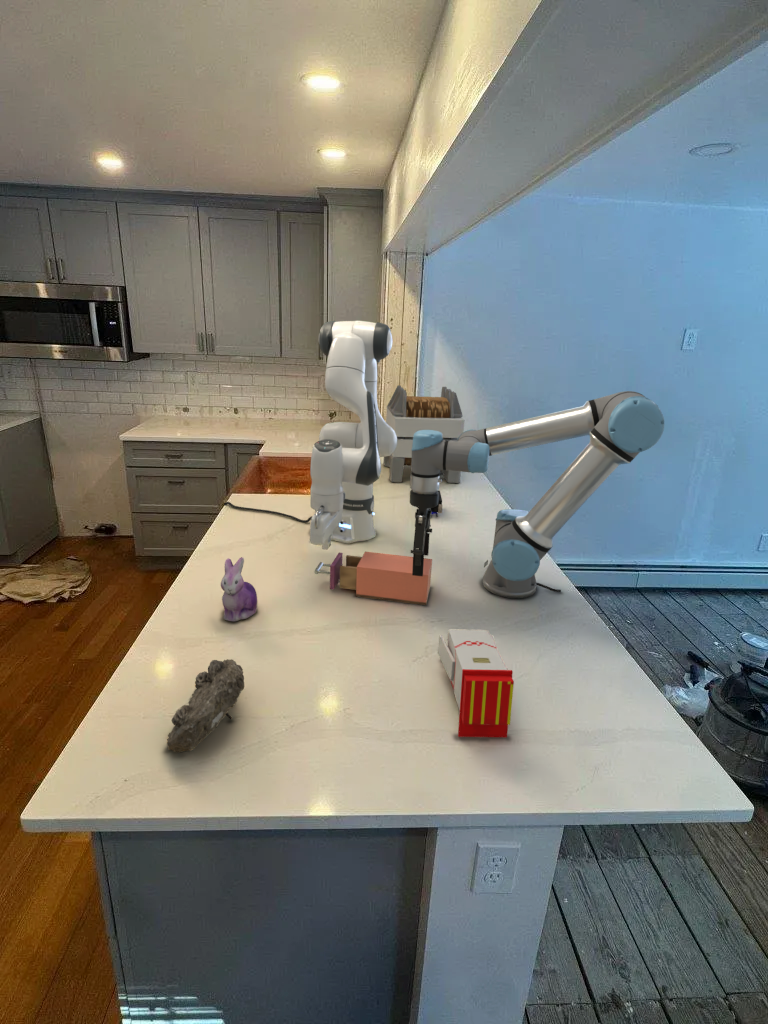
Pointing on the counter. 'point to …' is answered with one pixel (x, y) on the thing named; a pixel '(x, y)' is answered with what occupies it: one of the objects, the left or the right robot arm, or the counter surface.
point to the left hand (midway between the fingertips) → (326, 547)
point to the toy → (478, 682)
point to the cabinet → (392, 578)
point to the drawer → (341, 571)
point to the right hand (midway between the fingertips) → (420, 564)
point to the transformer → (421, 426)
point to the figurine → (237, 593)
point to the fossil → (206, 705)
